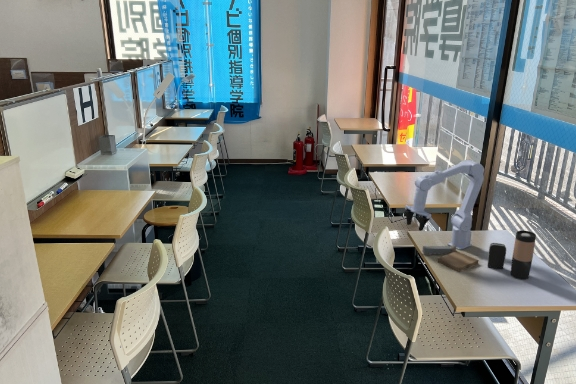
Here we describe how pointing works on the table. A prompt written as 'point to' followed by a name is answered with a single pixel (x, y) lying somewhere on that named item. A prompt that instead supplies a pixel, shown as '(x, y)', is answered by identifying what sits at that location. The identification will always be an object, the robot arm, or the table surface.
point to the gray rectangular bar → (436, 250)
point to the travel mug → (522, 254)
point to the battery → (496, 255)
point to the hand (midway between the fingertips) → (414, 227)
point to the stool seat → (457, 260)
